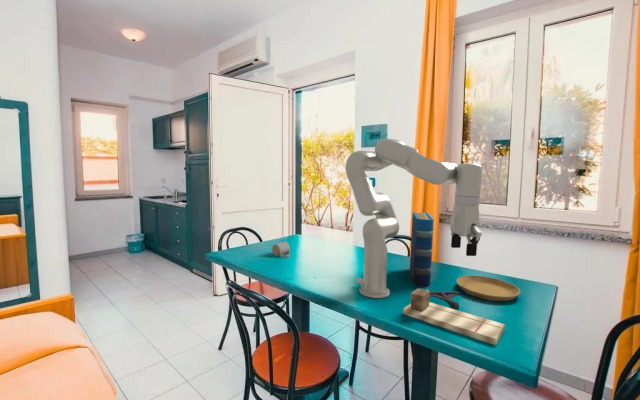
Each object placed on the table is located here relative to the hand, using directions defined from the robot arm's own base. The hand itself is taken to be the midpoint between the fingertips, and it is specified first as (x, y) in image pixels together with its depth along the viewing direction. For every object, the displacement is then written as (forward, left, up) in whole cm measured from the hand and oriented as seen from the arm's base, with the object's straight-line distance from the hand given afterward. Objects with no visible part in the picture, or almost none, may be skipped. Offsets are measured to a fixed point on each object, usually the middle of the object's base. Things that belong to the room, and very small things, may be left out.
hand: (462, 251), depth 108 cm
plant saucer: (0, +36, -25) cm, 44 cm away
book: (-28, +33, -25) cm, 50 cm away
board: (-2, -2, -25) cm, 25 cm away
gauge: (-13, -1, -23) cm, 26 cm away
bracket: (-9, +15, -26) cm, 31 cm away
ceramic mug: (-103, +13, -25) cm, 107 cm away
